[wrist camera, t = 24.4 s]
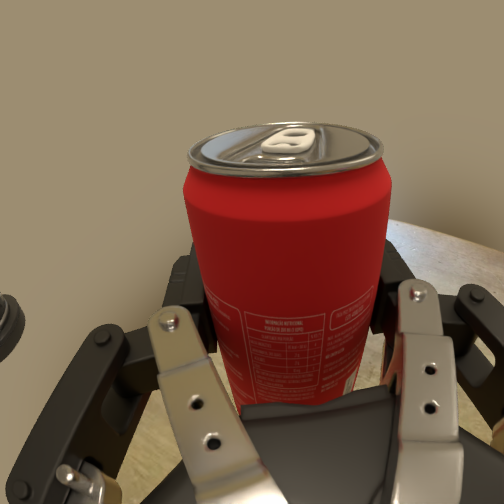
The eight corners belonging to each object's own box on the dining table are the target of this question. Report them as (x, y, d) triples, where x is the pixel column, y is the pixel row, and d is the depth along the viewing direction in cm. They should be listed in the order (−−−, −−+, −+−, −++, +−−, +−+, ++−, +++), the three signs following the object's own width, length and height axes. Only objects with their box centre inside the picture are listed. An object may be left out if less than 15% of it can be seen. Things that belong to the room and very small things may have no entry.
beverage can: (221, 434, 13) (130, 175, 6) (259, 354, 17) (230, 121, 10) (332, 462, 11) (403, 186, 4) (353, 371, 15) (388, 125, 8)
